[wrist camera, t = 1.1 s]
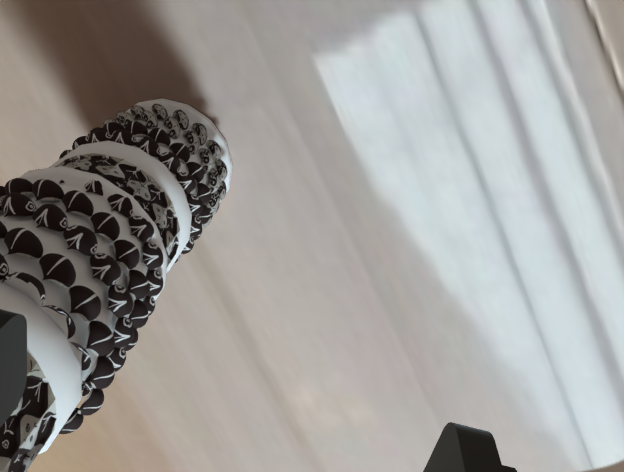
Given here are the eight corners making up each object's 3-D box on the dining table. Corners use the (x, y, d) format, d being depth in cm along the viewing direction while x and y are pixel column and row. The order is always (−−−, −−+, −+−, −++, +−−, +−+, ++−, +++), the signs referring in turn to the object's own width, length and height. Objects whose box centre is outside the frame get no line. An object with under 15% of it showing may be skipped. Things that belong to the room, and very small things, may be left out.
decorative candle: (258, 128, 33) (12, 472, 12) (214, 243, 38) (-22, 646, 16) (120, 66, 33) (-417, 310, 11) (92, 191, 37) (-328, 540, 15)
